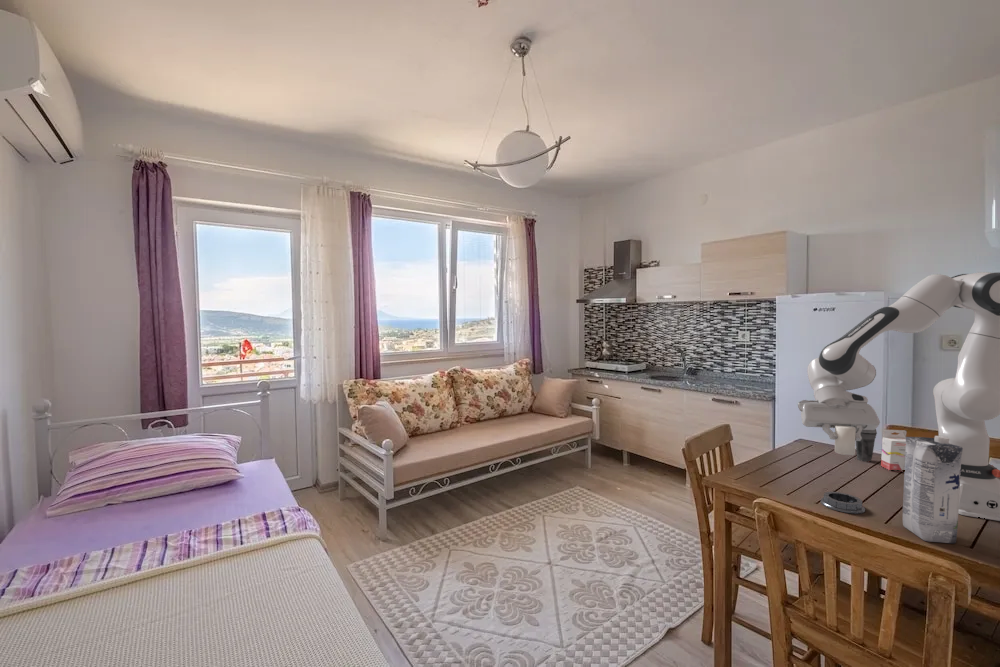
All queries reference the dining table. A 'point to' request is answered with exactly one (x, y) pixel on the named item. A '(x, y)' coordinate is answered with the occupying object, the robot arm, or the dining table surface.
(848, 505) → the holder
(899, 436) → the ink cartridge box
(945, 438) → the juice carton
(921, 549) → the dining table surface
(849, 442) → the plug
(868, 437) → the beverage cup
